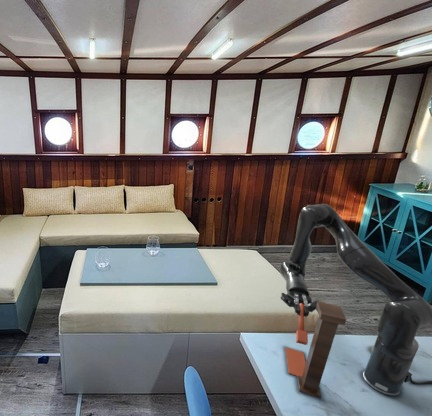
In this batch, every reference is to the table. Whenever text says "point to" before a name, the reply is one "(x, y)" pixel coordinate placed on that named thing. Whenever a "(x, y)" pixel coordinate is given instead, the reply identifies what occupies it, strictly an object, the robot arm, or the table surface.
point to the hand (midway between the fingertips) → (302, 313)
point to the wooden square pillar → (320, 348)
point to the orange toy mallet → (301, 328)
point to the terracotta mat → (295, 362)
